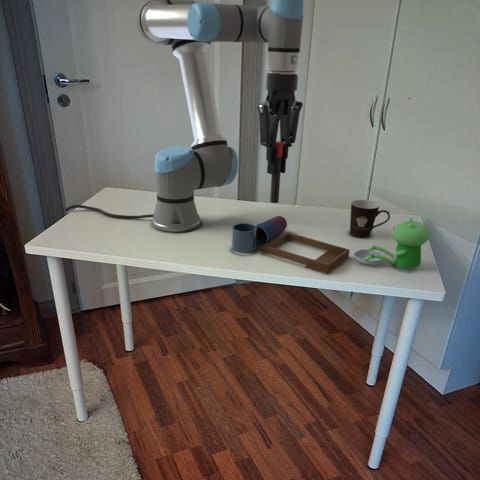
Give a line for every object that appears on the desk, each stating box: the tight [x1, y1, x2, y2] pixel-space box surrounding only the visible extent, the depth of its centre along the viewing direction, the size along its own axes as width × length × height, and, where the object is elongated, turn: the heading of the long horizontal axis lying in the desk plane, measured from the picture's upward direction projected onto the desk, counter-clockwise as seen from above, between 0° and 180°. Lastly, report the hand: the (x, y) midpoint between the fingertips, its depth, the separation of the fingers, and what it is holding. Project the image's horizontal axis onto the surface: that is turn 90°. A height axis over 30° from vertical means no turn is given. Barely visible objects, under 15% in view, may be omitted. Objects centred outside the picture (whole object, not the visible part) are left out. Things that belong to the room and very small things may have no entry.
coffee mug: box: [349, 199, 391, 239], centre depth 149 cm, size 12×9×10 cm
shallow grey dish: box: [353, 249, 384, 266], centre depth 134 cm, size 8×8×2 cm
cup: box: [254, 215, 288, 248], centre depth 144 cm, size 7×7×15 cm
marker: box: [269, 140, 283, 204], centre depth 125 cm, size 3×3×16 cm
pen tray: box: [262, 231, 351, 275], centre depth 136 cm, size 21×14×3 cm, turn 55°
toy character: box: [360, 217, 431, 269], centre depth 131 cm, size 10×18×13 cm, turn 73°
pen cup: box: [231, 222, 257, 254], centre depth 137 cm, size 7×7×7 cm
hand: (276, 172), depth 125 cm, fingers closed on marker, 3 cm apart
